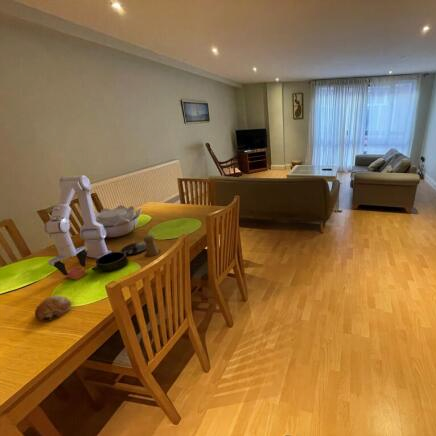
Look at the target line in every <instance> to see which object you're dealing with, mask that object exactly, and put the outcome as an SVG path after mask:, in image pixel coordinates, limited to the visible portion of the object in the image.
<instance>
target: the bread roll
mask: <svg viewBox="0 0 436 436" xmlns="http://www.w3.org/2000/svg"><path fill="white" fill-rule="evenodd" d="M71 307H72V302H71V300H70V299H69V298H68V297H65V296H61V295H53V296H50V297H46V298H45V299H44V300H42V301H41V302H40V303H39V305H37V306H36V309H35V311H34V315H35V319H36V320H37V321H40V322H48V321H52V320H55V319H57V318H59V317H61V316H62V315H64V314H66V313H67V312H68V311H69V310H70V309H71Z"/></svg>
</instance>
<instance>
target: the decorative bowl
mask: <svg viewBox="0 0 436 436" xmlns="http://www.w3.org/2000/svg"><path fill="white" fill-rule="evenodd" d="M94 213H95V218H96V222H97V223H100V224H102V225H103V226H104V229H105V231H106V237H105V238H117V237H122V236H124V235H127V234H129V233H130V232H132V231H133V230H135V229H136V227H137V226H138V223H139V217H140V216H141V213H142V208H141V207H140V208H139V209H138V210H135V207H134V206H133V205H131V206H129V207H126V206H125V205H123V204H120V205H118V206H117V207H115V208H113V209H111V208H107V207H106V208H103V209H101V210H100V212H99V211H97V212H95V211H94ZM93 229H94V228H93Z"/></svg>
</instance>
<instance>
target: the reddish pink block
mask: <svg viewBox="0 0 436 436" xmlns="http://www.w3.org/2000/svg"><path fill="white" fill-rule="evenodd" d="M66 271H67V273H68V275H67V276H66V277H67V278H68V279H71V280H75V281H77V280H79V279H80V278H83V277H84V276H87V272H86V270H85V269H84V268H82V267H81V268H80V267H77V266H75V267H73V268H72V269H69V270H66Z"/></svg>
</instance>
